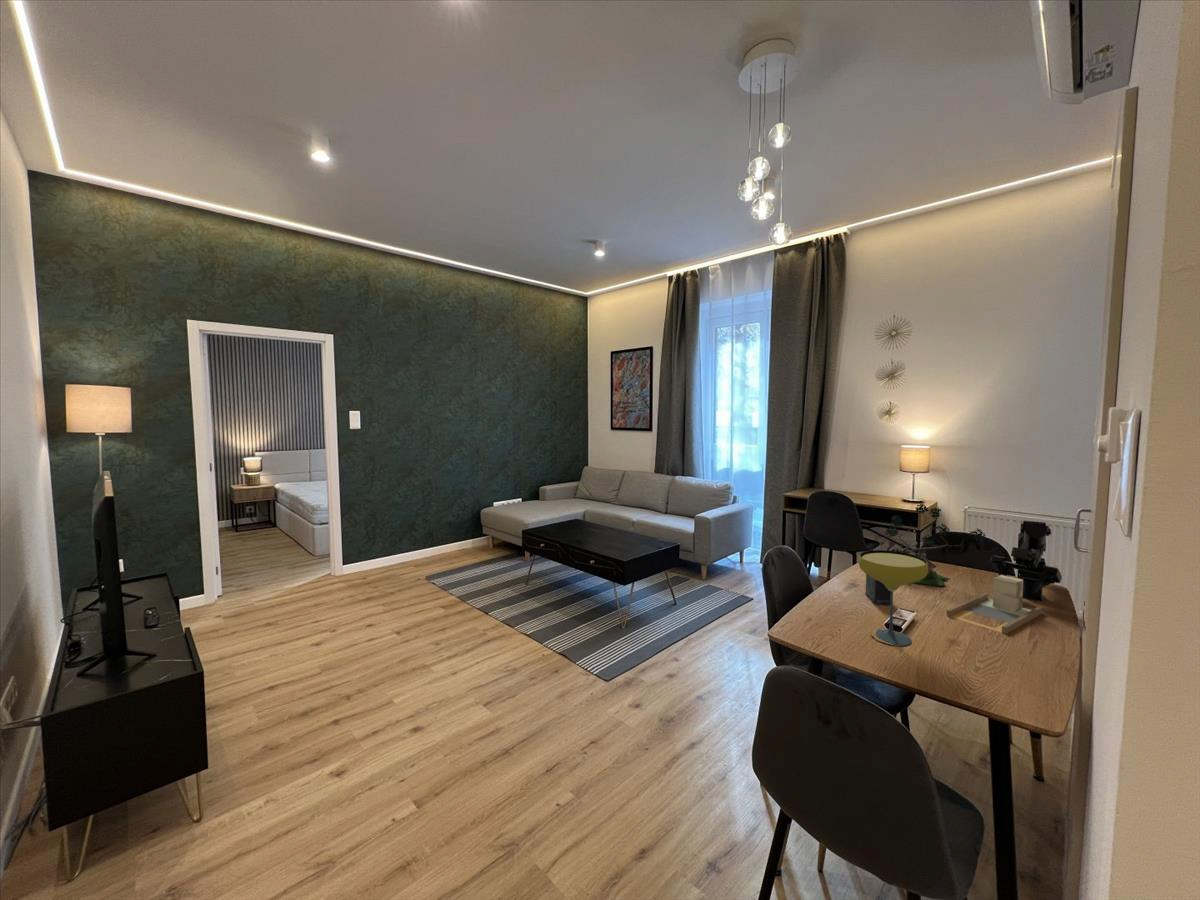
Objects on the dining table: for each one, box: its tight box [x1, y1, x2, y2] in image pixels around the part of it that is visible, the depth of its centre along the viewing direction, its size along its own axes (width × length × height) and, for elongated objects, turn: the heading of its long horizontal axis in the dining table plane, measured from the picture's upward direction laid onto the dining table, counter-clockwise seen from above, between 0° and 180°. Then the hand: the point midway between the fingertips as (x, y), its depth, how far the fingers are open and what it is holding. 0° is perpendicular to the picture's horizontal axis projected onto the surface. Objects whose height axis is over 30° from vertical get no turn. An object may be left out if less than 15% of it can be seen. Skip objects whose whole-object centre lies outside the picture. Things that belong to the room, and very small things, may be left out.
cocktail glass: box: [858, 549, 928, 647], centre depth 149 cm, size 18×18×25 cm
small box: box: [864, 573, 891, 606], centre depth 180 cm, size 11×6×10 cm, turn 168°
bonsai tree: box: [881, 503, 987, 588], centre depth 194 cm, size 35×24×32 cm
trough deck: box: [946, 592, 1043, 635], centre depth 161 cm, size 27×16×4 cm, turn 121°
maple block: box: [992, 575, 1023, 613], centre depth 166 cm, size 6×6×10 cm
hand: (1016, 588), depth 170 cm, fingers open, 9 cm apart
